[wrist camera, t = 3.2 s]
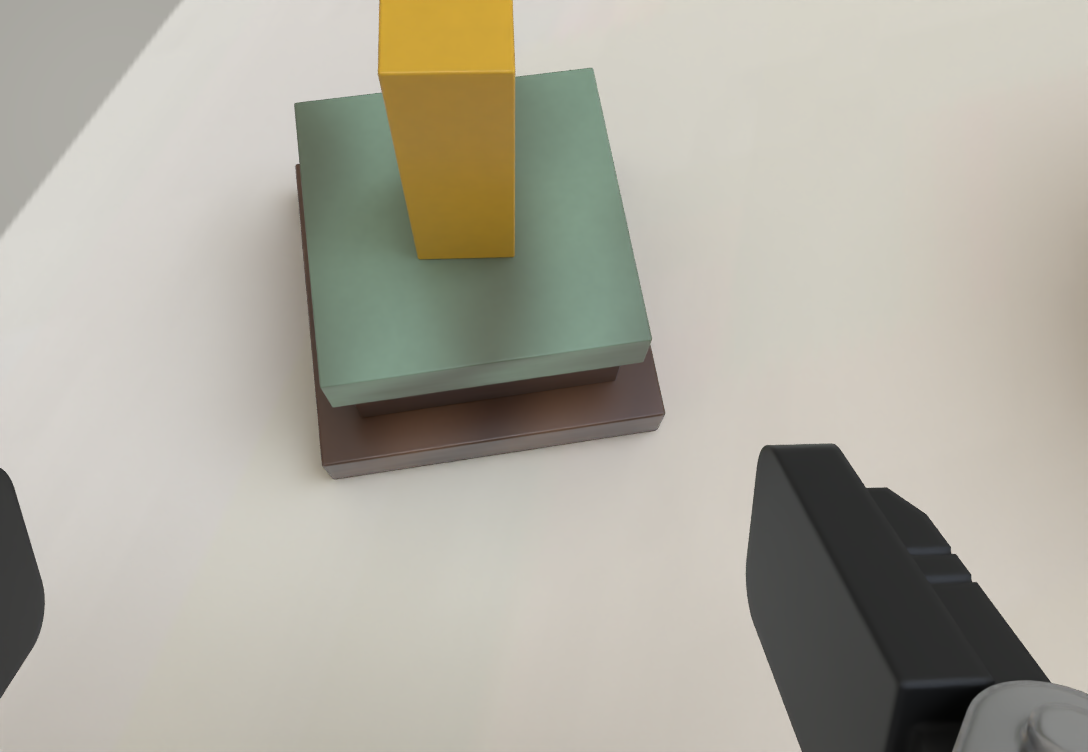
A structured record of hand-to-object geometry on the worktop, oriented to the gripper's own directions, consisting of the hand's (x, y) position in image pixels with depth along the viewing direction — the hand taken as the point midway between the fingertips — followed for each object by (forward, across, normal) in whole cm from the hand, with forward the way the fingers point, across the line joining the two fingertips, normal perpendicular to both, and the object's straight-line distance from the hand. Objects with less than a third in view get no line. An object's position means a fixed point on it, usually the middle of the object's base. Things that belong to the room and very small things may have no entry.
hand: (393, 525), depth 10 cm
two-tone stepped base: (+25, 0, +7) cm, 26 cm away
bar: (+20, 0, +2) cm, 20 cm away
